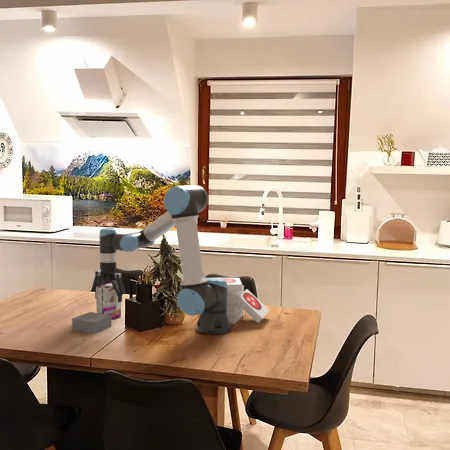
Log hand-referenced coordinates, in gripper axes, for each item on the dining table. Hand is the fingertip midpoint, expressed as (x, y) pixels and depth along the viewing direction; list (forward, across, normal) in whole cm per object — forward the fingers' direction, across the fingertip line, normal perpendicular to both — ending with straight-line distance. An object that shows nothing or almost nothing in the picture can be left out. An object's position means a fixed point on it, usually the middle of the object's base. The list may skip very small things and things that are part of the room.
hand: (108, 307), depth 250 cm
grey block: (+6, -3, +15) cm, 16 cm away
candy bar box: (+6, 0, 0) cm, 6 cm away
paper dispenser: (+6, -52, -30) cm, 60 cm away
